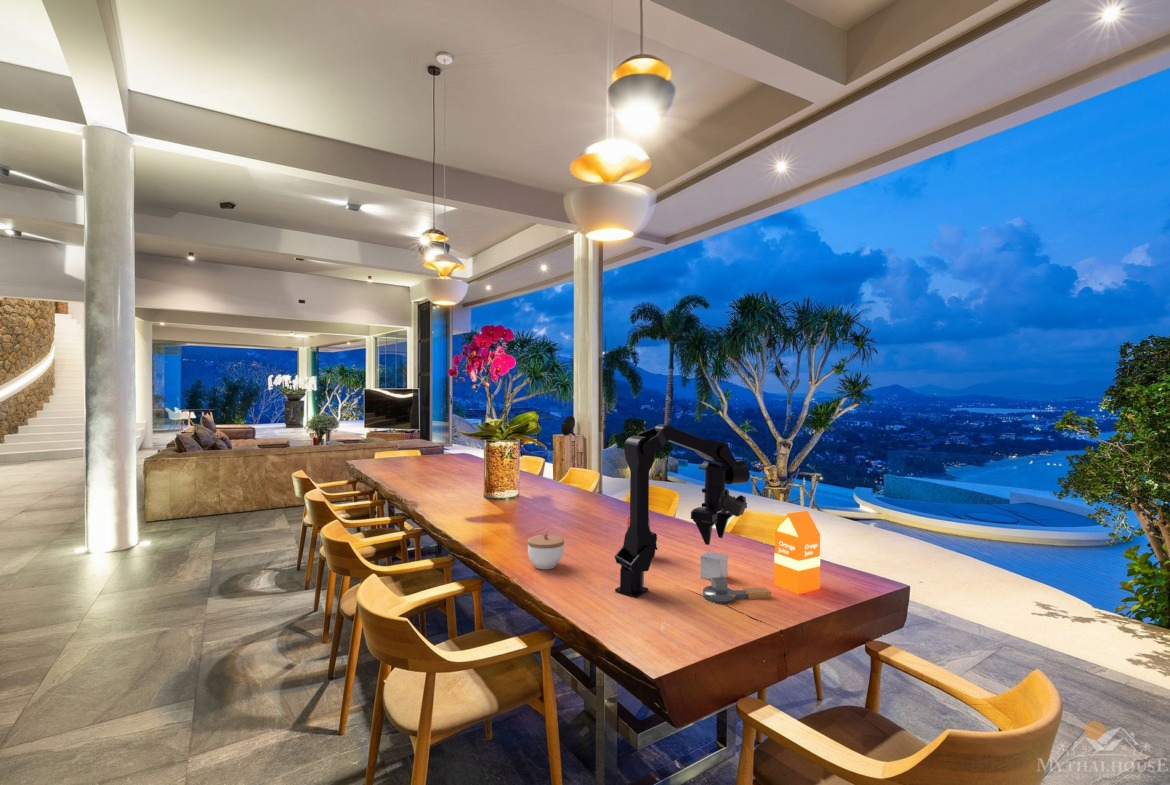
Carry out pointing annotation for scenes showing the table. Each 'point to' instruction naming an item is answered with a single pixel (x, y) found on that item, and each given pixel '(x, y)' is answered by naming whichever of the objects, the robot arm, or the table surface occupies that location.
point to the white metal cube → (714, 565)
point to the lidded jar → (545, 550)
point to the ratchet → (731, 592)
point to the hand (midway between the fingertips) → (714, 541)
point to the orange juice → (797, 553)
